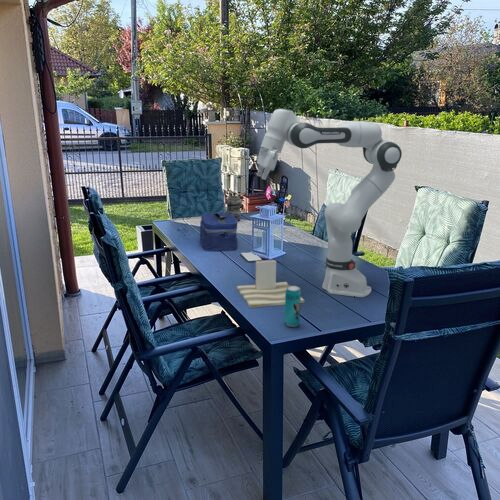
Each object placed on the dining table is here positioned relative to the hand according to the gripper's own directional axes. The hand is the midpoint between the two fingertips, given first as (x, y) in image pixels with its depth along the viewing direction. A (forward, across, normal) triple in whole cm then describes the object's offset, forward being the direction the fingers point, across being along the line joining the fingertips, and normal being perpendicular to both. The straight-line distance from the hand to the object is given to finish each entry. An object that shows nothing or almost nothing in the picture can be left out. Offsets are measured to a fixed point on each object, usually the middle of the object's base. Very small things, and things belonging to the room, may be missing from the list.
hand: (261, 177), depth 207 cm
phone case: (+48, +53, -22) cm, 75 cm away
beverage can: (+48, -36, -22) cm, 64 cm away
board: (+48, -5, -20) cm, 52 cm away
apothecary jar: (+46, +150, -27) cm, 159 cm away
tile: (+47, +1, -19) cm, 51 cm away
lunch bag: (+52, +82, -8) cm, 97 cm away
